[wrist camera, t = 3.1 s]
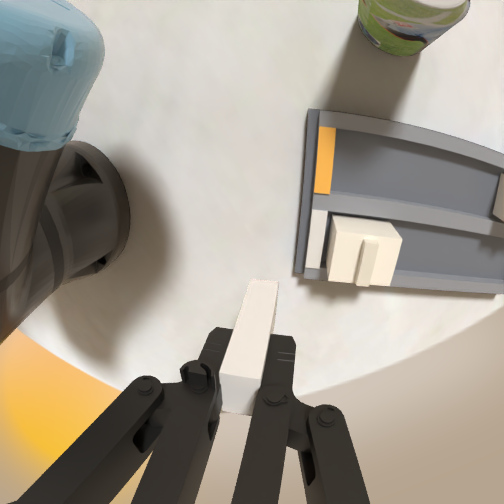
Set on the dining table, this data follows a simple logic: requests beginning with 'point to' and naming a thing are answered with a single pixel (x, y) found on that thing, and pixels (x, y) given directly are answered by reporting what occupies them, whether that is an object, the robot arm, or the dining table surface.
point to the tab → (362, 251)
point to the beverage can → (408, 22)
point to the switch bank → (404, 199)
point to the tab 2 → (500, 200)
